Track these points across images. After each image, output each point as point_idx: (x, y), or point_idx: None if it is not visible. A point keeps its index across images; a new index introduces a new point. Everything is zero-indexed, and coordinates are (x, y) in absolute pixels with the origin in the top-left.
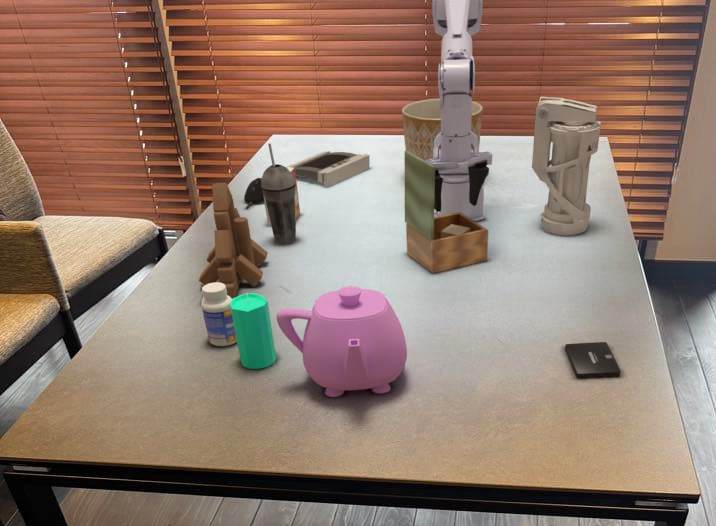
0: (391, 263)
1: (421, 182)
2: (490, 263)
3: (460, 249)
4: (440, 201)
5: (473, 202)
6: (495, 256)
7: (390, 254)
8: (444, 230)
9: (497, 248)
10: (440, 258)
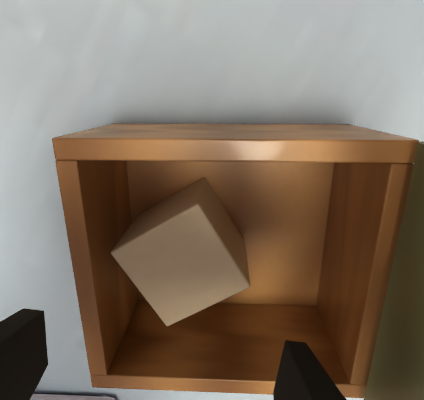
0: None
1: None
2: (113, 94)
3: (230, 130)
4: (318, 394)
5: (30, 327)
6: None
7: None
8: (231, 285)
9: (36, 199)
10: (331, 129)
